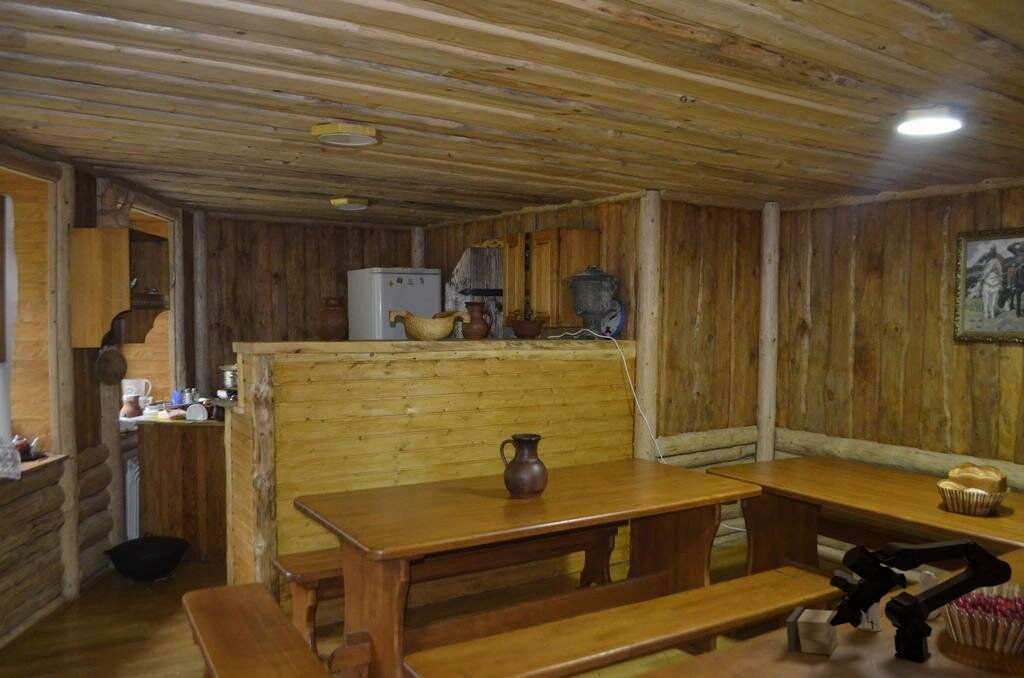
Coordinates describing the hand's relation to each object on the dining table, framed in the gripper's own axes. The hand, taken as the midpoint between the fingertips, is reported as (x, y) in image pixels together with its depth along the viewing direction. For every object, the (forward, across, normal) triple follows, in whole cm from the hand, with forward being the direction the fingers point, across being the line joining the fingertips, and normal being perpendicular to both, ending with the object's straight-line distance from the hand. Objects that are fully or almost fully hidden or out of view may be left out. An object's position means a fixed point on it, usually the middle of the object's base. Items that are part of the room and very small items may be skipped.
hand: (831, 624), depth 194 cm
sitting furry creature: (-8, -38, +18) cm, 43 cm away
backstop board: (+11, -1, -2) cm, 11 cm away
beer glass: (0, -20, +9) cm, 22 cm away
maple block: (+7, 0, +2) cm, 7 cm away
